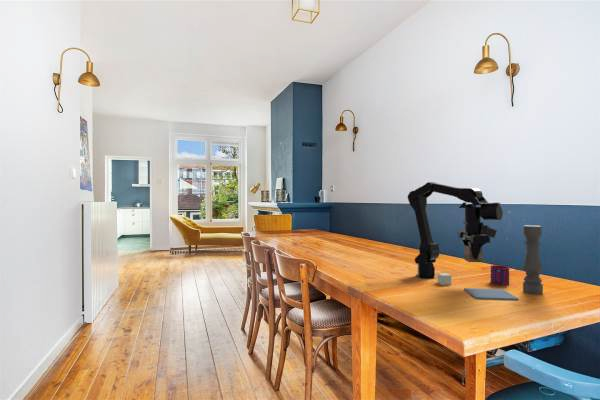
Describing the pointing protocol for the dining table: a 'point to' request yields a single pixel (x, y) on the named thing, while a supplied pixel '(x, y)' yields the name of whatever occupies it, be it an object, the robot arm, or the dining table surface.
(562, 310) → the dining table surface
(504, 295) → the placemat
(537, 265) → the candle holder
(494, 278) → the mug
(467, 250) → the walnut block
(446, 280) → the sage block
